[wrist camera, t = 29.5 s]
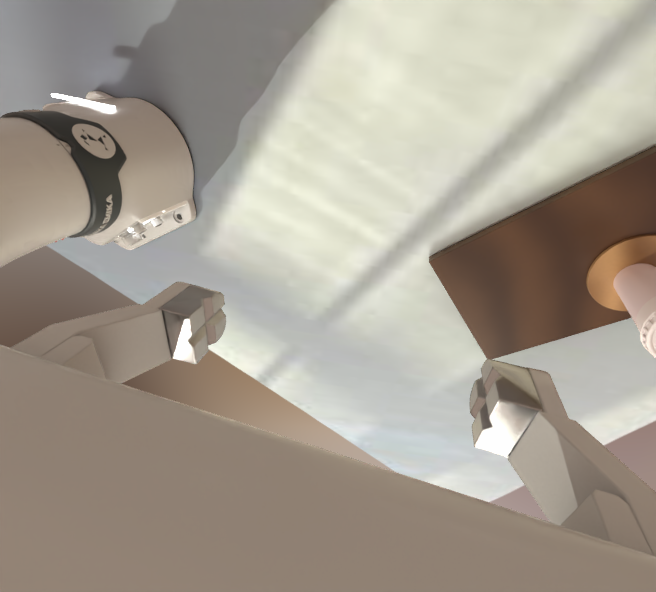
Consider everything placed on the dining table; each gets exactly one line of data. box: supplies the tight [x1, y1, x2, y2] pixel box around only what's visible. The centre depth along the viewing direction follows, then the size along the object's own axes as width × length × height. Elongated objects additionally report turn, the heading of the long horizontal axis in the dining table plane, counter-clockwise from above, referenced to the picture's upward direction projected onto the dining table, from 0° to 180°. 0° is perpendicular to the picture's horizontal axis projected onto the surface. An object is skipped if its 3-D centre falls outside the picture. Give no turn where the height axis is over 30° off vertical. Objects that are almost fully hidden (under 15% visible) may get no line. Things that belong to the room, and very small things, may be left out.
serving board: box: [429, 146, 656, 359], centre depth 36 cm, size 22×16×2 cm
